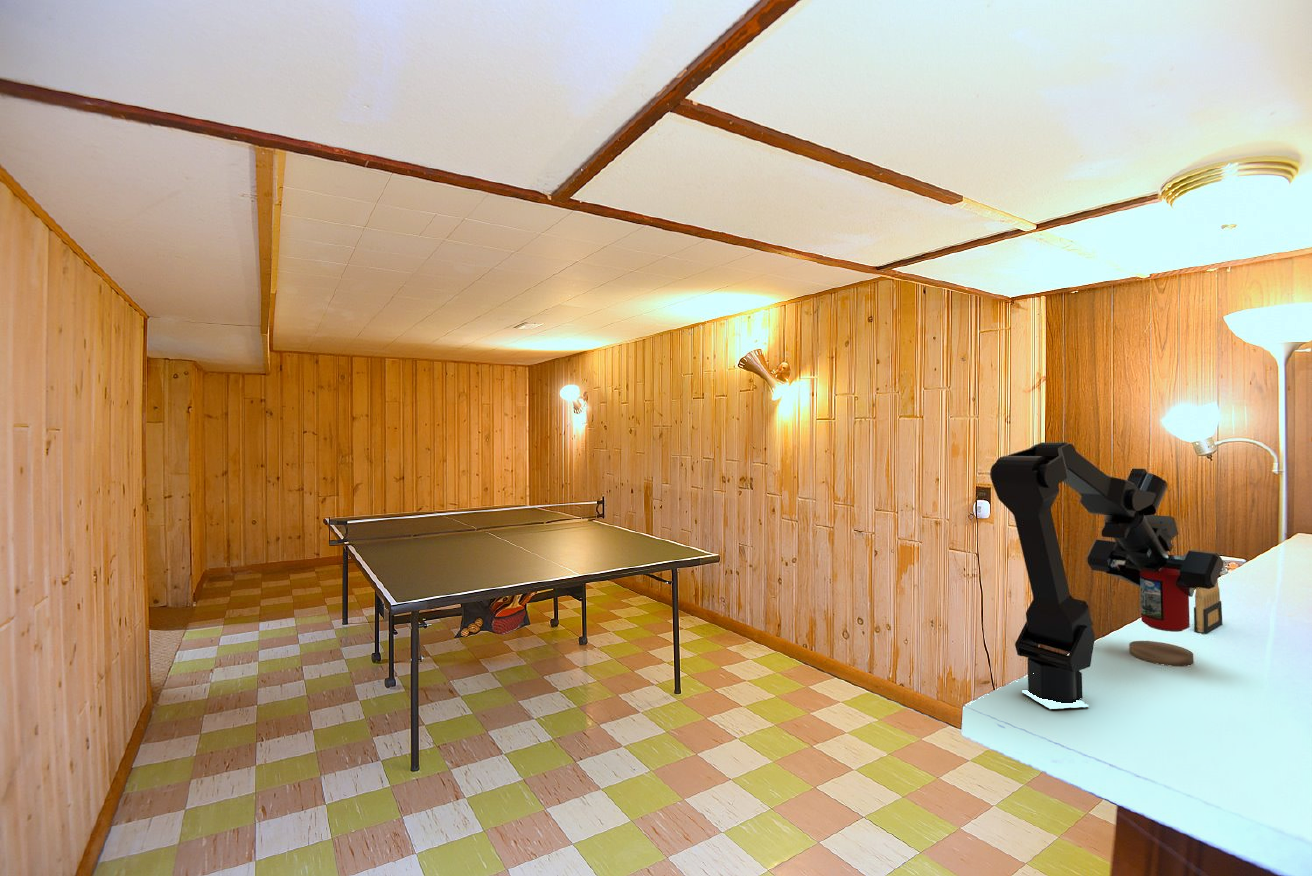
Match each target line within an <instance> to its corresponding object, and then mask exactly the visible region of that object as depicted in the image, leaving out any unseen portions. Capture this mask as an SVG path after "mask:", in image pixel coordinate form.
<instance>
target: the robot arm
mask: <svg viewBox="0 0 1312 876" xmlns="http://www.w3.org/2000/svg"><path fill="white" fill-rule="evenodd" d="M989 476H990V480H991V483H992V486H993V488H994V491H995V494H996V497H997V499H998V501H1000V502H1001V503H1002V504H1003V505H1004V507H1006V508H1007V509H1008V510H1009V511H1010V513H1011V514H1012V515H1013V518H1014V523H1015V527H1016V532H1017V535H1018V539H1019V543H1020V548H1021V551H1022V556H1023V560H1024V565H1025V569H1026V573H1027V576H1028V577H1027V578H1028V582H1029V586H1030V590H1031V593H1032V601H1031V603H1030V604H1029V606H1028V608H1027V609H1026V611H1025V620H1026V621H1025V623H1024V625H1023V626H1022V627H1023V628H1022V629H1021V631H1020V633H1019V635H1018V637H1017V639H1016V641H1015V643H1014V647H1015V650H1016V653H1017V654H1016V655H1017V656H1018V657H1025V658H1026V659H1027V660H1026V661H1027V685H1028V686H1027V689H1028V691H1029V692H1030V693H1032V694H1033V695H1036V696H1037V697H1039V698H1042V699H1048V700H1053V701H1056V702H1061V703H1073V702H1076V700H1079V699H1080V698H1082V699H1083V698H1084V697H1083V696H1084V695H1083V673H1082V672H1081V671H1082V670H1084V669H1085V670H1086V669H1088V668H1090V667H1091V664H1092V659H1093V652H1094V645H1095V639H1096V638H1095V631H1094V629H1093V627H1092V626H1093V625H1094V622H1093V621H1092V620H1091V615H1090V607H1089V604H1088V603H1087V601H1086V600H1081V599H1079V598H1078V599H1077V598H1074V597H1073V596H1072V595H1071V593H1070V588H1069V585H1068V581H1067V580H1068V579H1067V576H1066V572H1065V566H1064V563H1063V558H1062V554H1061V549H1060V544H1059V540H1058V536H1057V532H1056V527H1055V523H1054V522H1055V521H1054V518H1053V513H1052V507H1053V504H1054V503H1055V501H1056V499H1057V497H1058V495H1059V493H1060V485H1059V484H1061V483H1062V482H1063V483H1064V484H1065V485H1067V486H1069V487H1070V488H1071V489H1072V490H1073V491H1075V492H1076V493H1077V494H1079V495H1080V498H1079V503H1080V504H1081V505H1082V506H1083V508H1084V509H1086V510H1087V512H1088V513H1089V514H1092V515H1099V516H1100V515H1101V516H1104V519H1103V523H1104V525H1103V527H1102V529H1101V533H1100V534H1101V537H1103V539H1102V538H1098V539H1095V540H1094V541H1093V543H1092V546H1091V547H1090V549H1089V552H1088V553H1087V556H1086V557H1085V558H1086V559H1085V561H1086V563H1087V565H1088V566H1089V568H1090V569H1091V570H1092V571H1097V572H1103V573H1106V574H1107V575H1111V576H1114V577H1116V578H1118V579H1121V580H1123V581H1126V582H1127V583H1130V584H1133V585H1134V586H1136V587H1138V588H1140V570H1145V571H1151V572H1159V571H1160V570H1161V568H1162V567H1164V568H1171V569H1177V571H1178V573H1180V574H1179V577H1178V579H1177V581H1176V586H1178V587H1179V588H1180V589H1181V590H1182V591H1183V592H1184V593H1185V594H1186V595H1188V596H1189V598H1193V596H1194V595H1195V594H1194V593H1195V589H1196V588H1197V587H1200V588H1206V589H1210V588H1213V587H1215V584H1216V582H1217V579H1219V577H1220V573H1221V572H1222V569H1223V568H1224V567H1223V566H1224V564H1225V563H1224V561H1223V559H1222V557H1221V556H1220V555H1219V554H1218V553H1217V552H1212V551H1204V550H1203V551H1202V550H1195V549H1194V550H1193V549H1191V550H1188V551H1187V553H1185V554H1183V555H1175V554H1168V552H1172V550H1173V547H1174V545H1173V542H1172V541H1173V540H1174V539H1175V537H1176V536H1178V535H1179V531H1178V527H1177V523H1176V519H1175V516H1171V515H1157V511H1158V509H1159V507H1160V504H1161V503H1162V500H1163V498H1164V496H1165V493H1166V492H1167V489H1168V483H1167V481H1166V480H1165V479H1163V478H1162V477H1160V476H1158V475H1157V474H1153V473H1150V472H1148V471H1147V470H1146V468H1131V471H1130V473H1129V475H1128V476H1127V477H1126V479H1124V478H1118V477H1115V476H1110V475H1107V474H1106V473H1105V472H1103V471H1102V470H1101V469H1099V467H1097V466H1095V464H1093V463H1091V461H1089V460H1088V459H1087V458H1086V457H1085V456H1083V455H1082V454H1080V453H1079V452H1078V451H1077V450H1076V448H1075V446H1074V445H1073V444H1072V443H1068V442H1066V441H1063V442H1062V441H1059V442H1058V441H1057V442H1056V441H1052V442H1049V441H1048V442H1045V441H1043V442H1039V443H1036V444H1034V445H1032V446H1030V447H1029V448H1027V449H1023V450H1020V451H1017V452H1014V453H1010V454H1007V455H1003V456H1000V457H999V458H997V460H996V462H995V463H993V464H992V465H991V468H990V473H989ZM1104 538H1111V539H1104ZM1113 539H1114V540H1113ZM1039 645H1040V646H1044V647H1047V648H1051V649H1055V650H1058V651H1061V652H1065V653H1068V654H1064V653H1061V652H1057V651H1054V650H1050V649H1047V648H1044V647H1039ZM1033 673H1034V674H1033ZM1080 700H1081V699H1080Z"/></svg>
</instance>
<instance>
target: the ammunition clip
mask: <svg viewBox="0 0 1312 876" xmlns="http://www.w3.org/2000/svg"><path fill="white" fill-rule="evenodd" d="M1218 579H1219V578H1218ZM1218 579H1217V582H1216V584H1215V587H1213V588H1210V589H1206V588H1200V587H1197V588H1195V592H1194V593H1195V594H1194V604H1195V605H1194V607H1193V620H1194V621H1193V622H1194V623H1193V625H1194V626H1193V627H1194V633H1197V634H1201V635H1203V634H1204V635H1208V634H1210V633H1211V632H1213V631H1214V630H1216V629H1218V628H1220V627H1221V626H1223V611H1222V608H1223V607H1222V605H1223V604H1222V601H1221V597H1220V596H1221V595H1220V587H1219V581H1218Z"/></svg>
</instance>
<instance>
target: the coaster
mask: <svg viewBox="0 0 1312 876" xmlns="http://www.w3.org/2000/svg"><path fill="white" fill-rule="evenodd" d="M1128 647H1129V651H1128V652H1129V654H1130V655H1131V656H1133V657H1134V658H1136V659H1139V660H1141V661H1144V662H1148V663H1152V664H1156V663H1158V664H1157V665H1161V664H1164V665H1163V666H1168V665H1171V666H1170V667H1187V666H1188V665H1190V666H1192V665H1194V653H1193V651H1191V650H1190V649H1188V648H1185V647H1182V646H1179V645H1175V644H1171V643H1167V642H1161V641H1153V640H1135V641H1131V642H1130V643H1128ZM1188 667H1189V666H1188Z"/></svg>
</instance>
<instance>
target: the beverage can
mask: <svg viewBox="0 0 1312 876" xmlns="http://www.w3.org/2000/svg"><path fill="white" fill-rule="evenodd" d="M1179 574H1180V573H1178V571H1177V569H1171V568H1164V567H1162V568H1161V570H1160V571H1159V572H1151V571H1145V570H1140V587H1139V591H1140V592H1139V593H1140V594H1139V595H1140V617H1141V622H1143V623H1144V624H1145V625H1146V626H1147V627H1149V628H1151V629H1155V630H1158V631H1164V632H1172V633H1173V632H1174V633H1179V632H1183V631H1185V630H1187V629H1189V628H1190V597H1189V596H1188V595H1186V594H1185V593H1184V592H1183V591H1182V590H1181V589H1180V588H1179V587H1178V586H1176V581H1177V579H1178V577H1179Z"/></svg>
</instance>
